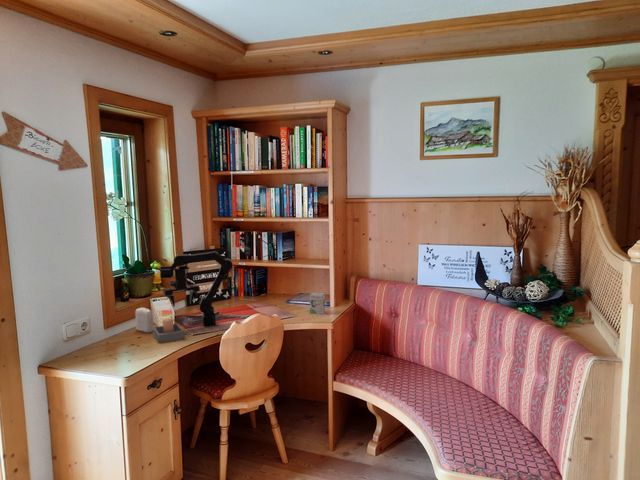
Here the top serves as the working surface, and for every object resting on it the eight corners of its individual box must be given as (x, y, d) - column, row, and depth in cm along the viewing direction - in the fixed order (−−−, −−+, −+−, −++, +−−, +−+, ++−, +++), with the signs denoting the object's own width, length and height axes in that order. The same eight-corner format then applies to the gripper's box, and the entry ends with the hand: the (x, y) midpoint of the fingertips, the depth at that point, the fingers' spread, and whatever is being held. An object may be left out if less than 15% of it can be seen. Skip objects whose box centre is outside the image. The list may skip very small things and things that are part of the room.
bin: (177, 330, 249) (177, 323, 248) (183, 338, 236) (183, 331, 236) (153, 334, 243) (153, 327, 242) (159, 342, 230) (158, 335, 230)
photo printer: (154, 330, 249) (153, 308, 248) (148, 333, 245) (146, 310, 244) (141, 327, 254) (140, 305, 253) (134, 330, 250) (133, 307, 249)
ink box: (325, 312, 282) (325, 293, 280) (323, 314, 277) (323, 295, 275) (312, 311, 284) (311, 292, 283) (309, 313, 279) (309, 294, 278)
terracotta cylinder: (172, 332, 243) (171, 318, 242) (174, 335, 238) (174, 320, 237) (162, 334, 240) (161, 319, 239) (164, 337, 236) (163, 322, 235)
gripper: (193, 273, 264) (194, 299, 266) (159, 277, 254) (161, 304, 256) (199, 276, 255) (200, 304, 257) (164, 280, 245) (166, 309, 247)
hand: (182, 305), depth 254 cm, fingers open, 9 cm apart
